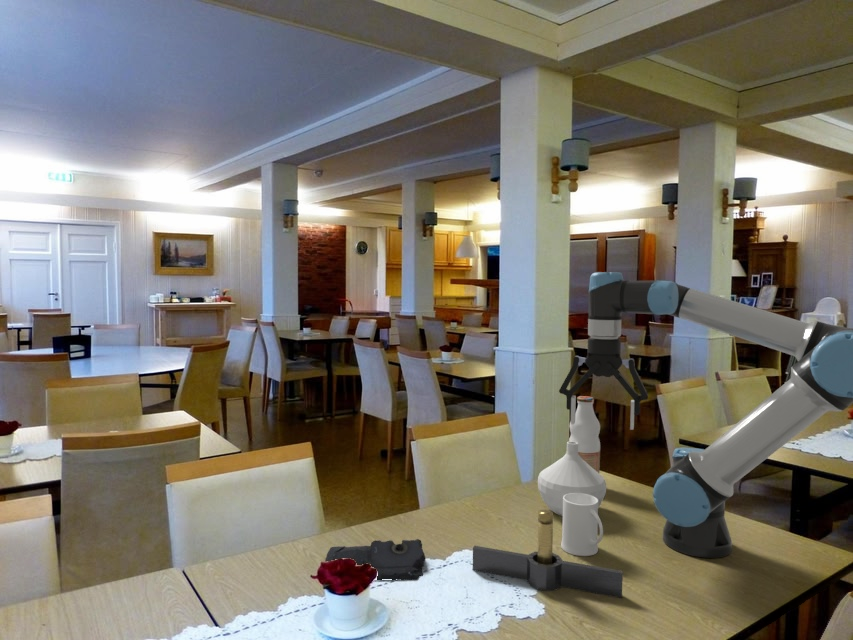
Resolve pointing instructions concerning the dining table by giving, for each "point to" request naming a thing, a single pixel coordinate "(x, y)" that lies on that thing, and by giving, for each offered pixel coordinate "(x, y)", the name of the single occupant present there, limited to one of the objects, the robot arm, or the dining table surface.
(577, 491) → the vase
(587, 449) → the fruit juice
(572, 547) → the mug
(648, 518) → the dining table surface
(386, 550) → the dark slate chunk
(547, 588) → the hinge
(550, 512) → the pin
